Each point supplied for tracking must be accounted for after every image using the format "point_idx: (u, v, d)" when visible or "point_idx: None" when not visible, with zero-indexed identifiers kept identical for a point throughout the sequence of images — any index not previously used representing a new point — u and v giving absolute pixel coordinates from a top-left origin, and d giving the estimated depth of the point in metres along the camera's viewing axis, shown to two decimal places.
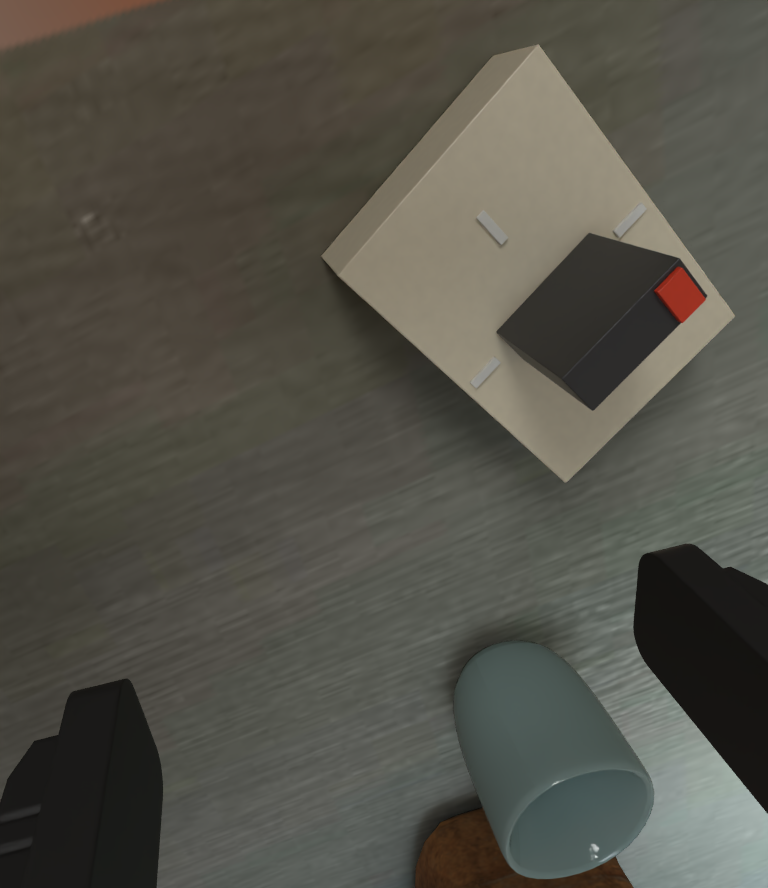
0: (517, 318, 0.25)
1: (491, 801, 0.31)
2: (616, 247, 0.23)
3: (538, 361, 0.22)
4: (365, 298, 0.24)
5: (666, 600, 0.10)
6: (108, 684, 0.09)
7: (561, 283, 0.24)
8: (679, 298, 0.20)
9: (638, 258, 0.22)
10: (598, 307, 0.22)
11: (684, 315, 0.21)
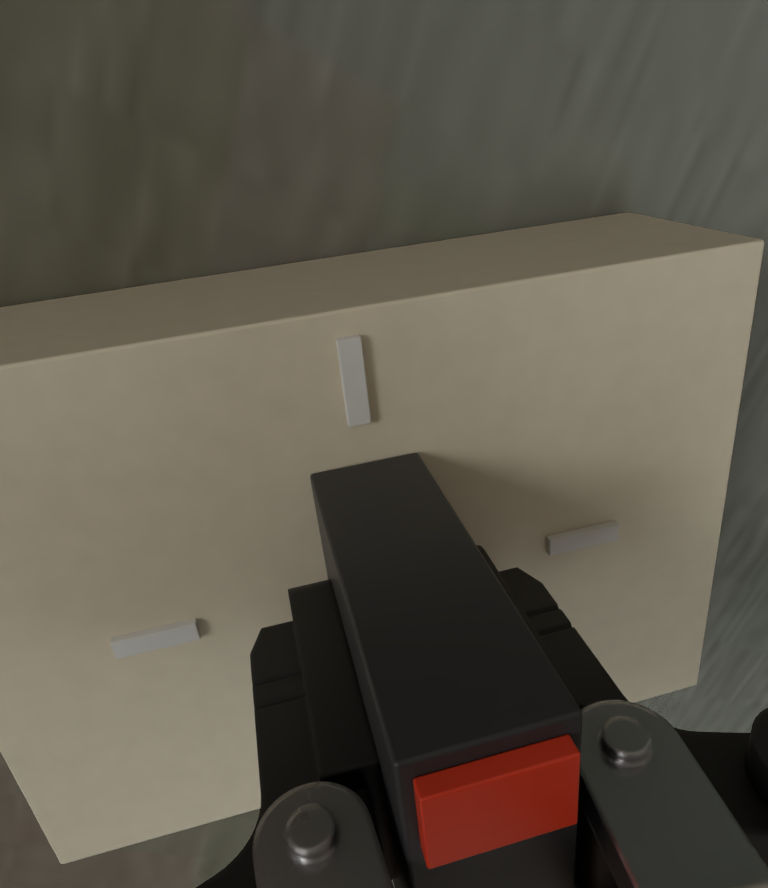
0: None
1: None
2: (336, 573, 0.09)
3: None
4: (129, 843, 0.13)
5: None
6: (318, 583, 0.10)
7: None
8: (501, 822, 0.06)
9: (360, 662, 0.07)
10: None
11: (561, 816, 0.06)
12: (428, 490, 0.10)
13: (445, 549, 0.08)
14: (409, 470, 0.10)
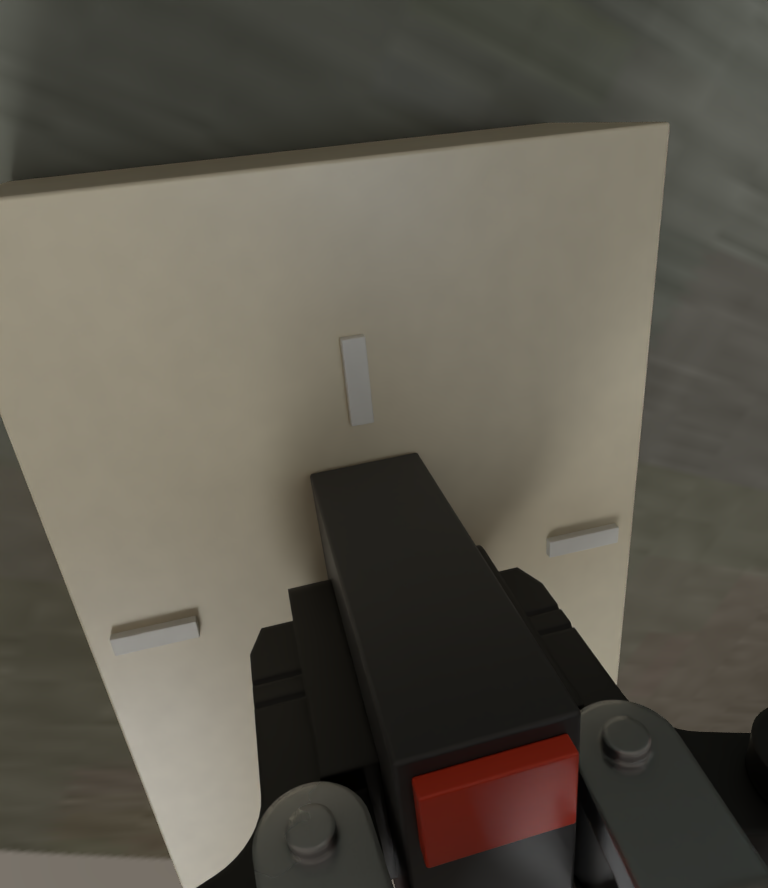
0: None
1: None
2: (334, 573, 0.09)
3: None
4: None
5: None
6: (318, 582, 0.10)
7: None
8: (500, 821, 0.06)
9: (360, 662, 0.07)
10: None
11: (560, 815, 0.06)
12: (428, 490, 0.10)
13: (445, 549, 0.08)
14: (409, 469, 0.10)
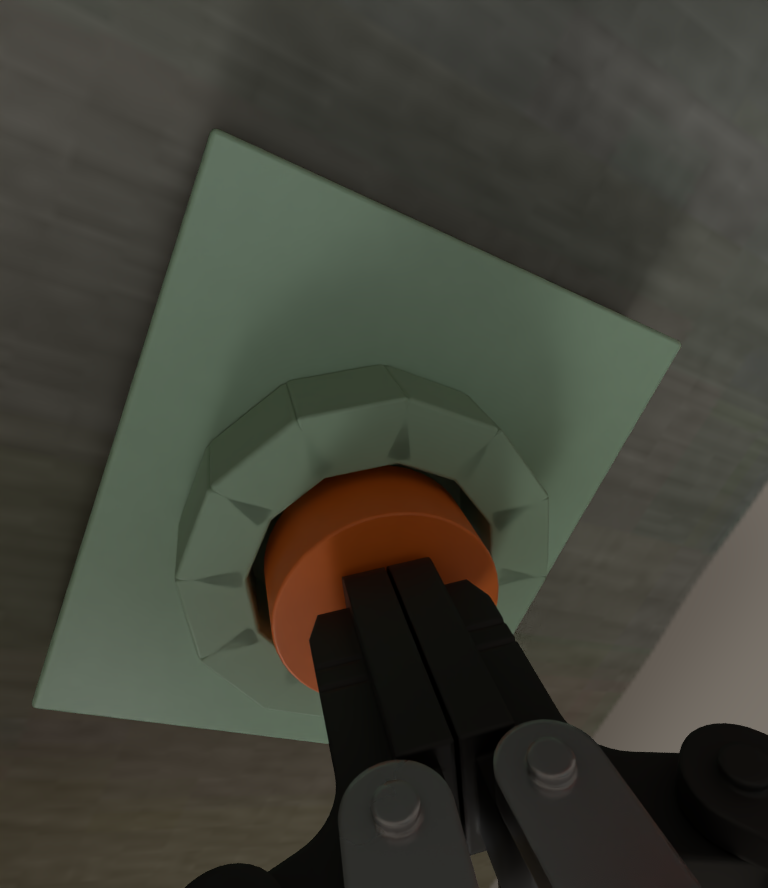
0: None
1: None
2: None
3: None
4: None
5: None
6: (372, 570, 0.11)
7: None
8: None
9: None
10: None
11: None
12: None
13: None
14: None
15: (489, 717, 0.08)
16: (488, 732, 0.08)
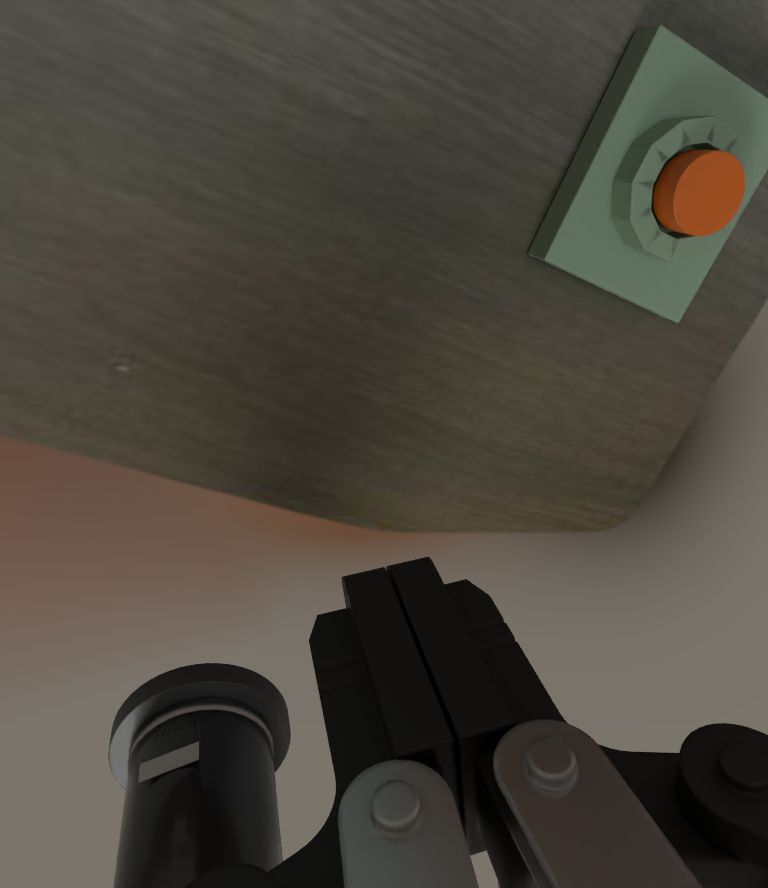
0: None
1: None
2: None
3: None
4: None
5: None
6: (372, 570, 0.11)
7: None
8: None
9: None
10: None
11: None
12: None
13: None
14: None
15: (489, 717, 0.08)
16: (488, 732, 0.08)
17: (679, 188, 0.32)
